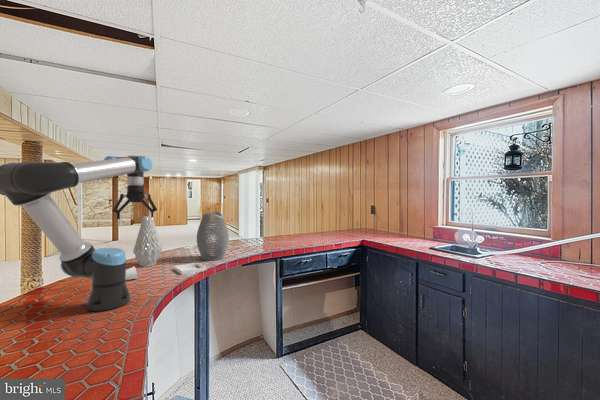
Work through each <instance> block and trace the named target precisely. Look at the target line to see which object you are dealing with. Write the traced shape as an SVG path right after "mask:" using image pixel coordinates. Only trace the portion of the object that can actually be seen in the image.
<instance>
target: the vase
mask: <svg viewBox="0 0 600 400" xmlns="http://www.w3.org/2000/svg"><path fill="white" fill-rule="evenodd" d="M139 226H140V227H139V231H138V234H137V236H136V240H135V244H134V247H133V249H132V250H133V251H132V253H133V254H134V255H135V260H136V261H137V263H138V264H139V266H140V267H151V266H155V265H156V264H157V262H158V260H159V258H160V256H161V252H162V251H163V247H162V244H161V242H160V237H159V234H158V231H157V228H156V223H155V220H154V217H153V218H151V224H149V215H148V216H147V215H146V216H142V220H141V223H140V225H139Z"/></svg>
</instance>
